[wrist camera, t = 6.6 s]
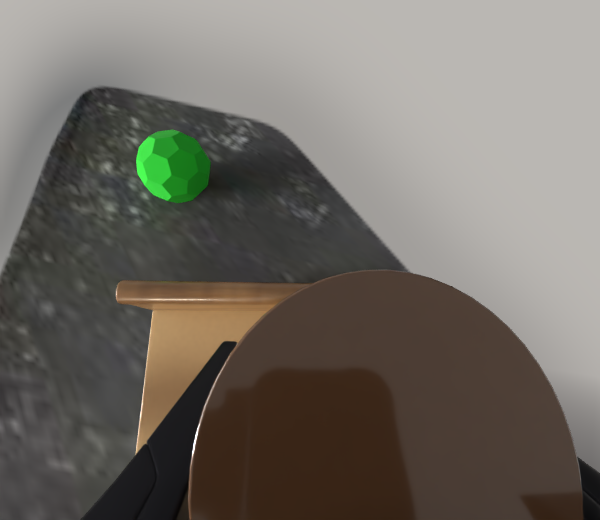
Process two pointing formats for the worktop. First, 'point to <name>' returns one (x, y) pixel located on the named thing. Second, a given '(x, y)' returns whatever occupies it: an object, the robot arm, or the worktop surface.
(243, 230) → the worktop surface
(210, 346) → the wooden ramp
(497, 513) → the cylinder
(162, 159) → the polyhedron
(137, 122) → the worktop surface
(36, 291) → the worktop surface
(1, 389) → the worktop surface
